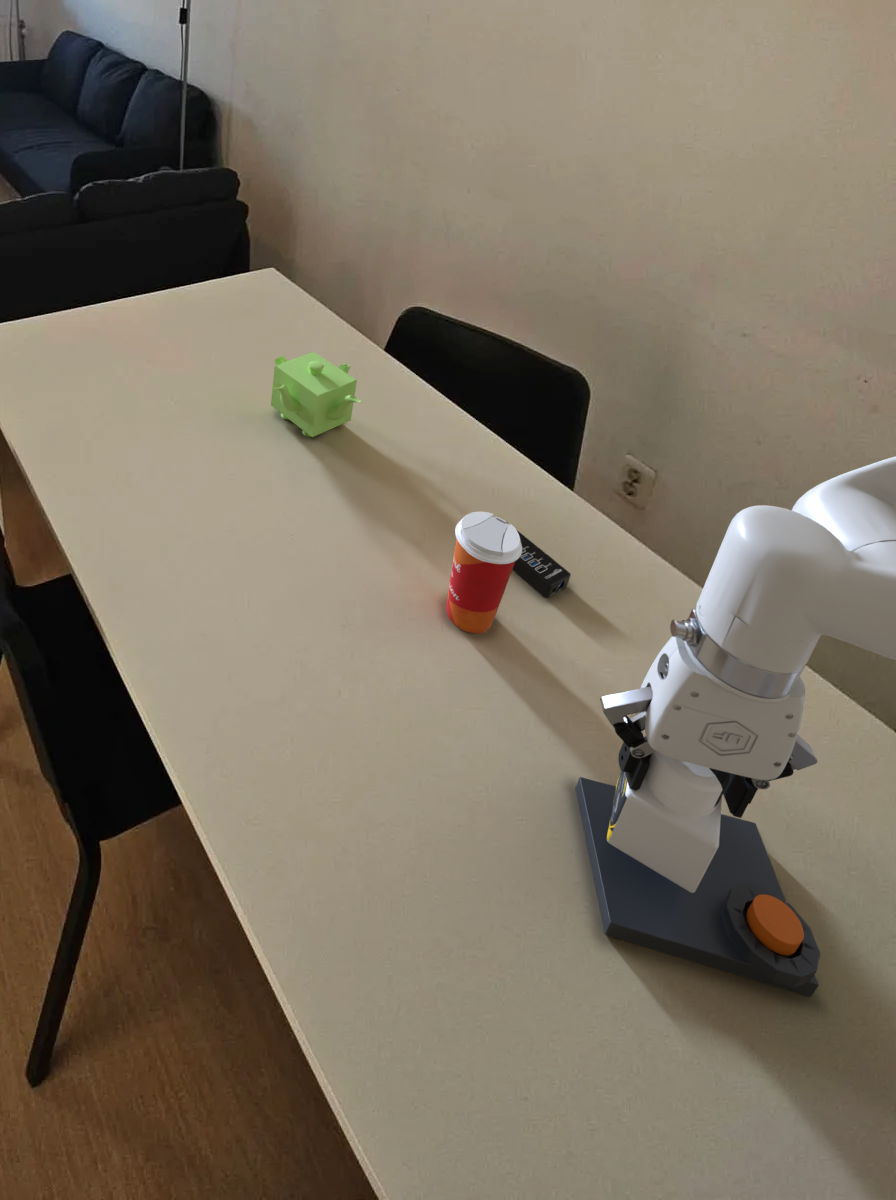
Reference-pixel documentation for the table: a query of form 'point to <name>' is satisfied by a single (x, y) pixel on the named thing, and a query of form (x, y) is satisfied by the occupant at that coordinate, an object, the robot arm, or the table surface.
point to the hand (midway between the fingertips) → (679, 786)
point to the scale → (694, 901)
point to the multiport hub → (540, 569)
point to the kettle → (313, 393)
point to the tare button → (775, 925)
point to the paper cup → (480, 569)
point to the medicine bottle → (670, 818)
